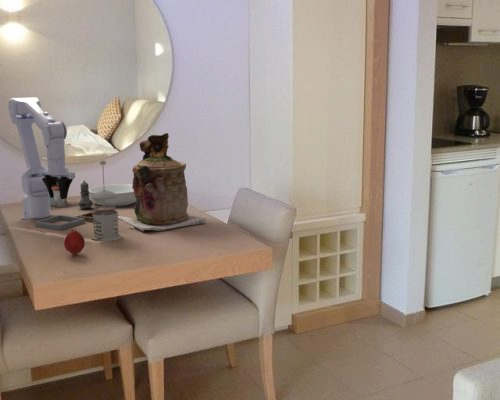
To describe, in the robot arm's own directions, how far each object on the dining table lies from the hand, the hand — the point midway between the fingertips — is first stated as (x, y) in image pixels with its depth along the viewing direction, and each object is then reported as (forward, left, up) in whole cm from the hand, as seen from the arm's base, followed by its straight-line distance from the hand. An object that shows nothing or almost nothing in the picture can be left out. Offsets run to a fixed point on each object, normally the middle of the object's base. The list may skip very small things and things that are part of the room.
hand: (58, 198), depth 208 cm
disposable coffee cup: (-29, +27, -10) cm, 41 cm away
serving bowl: (-7, +37, -11) cm, 39 cm away
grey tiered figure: (-10, +23, -10) cm, 27 cm away
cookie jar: (+26, +23, -11) cm, 36 cm away
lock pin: (0, +1, -3) cm, 3 cm away
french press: (+22, -2, -10) cm, 24 cm away
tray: (0, 0, -10) cm, 10 cm away
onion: (+28, -22, -10) cm, 37 cm away
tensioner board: (+2, +14, -10) cm, 18 cm away
